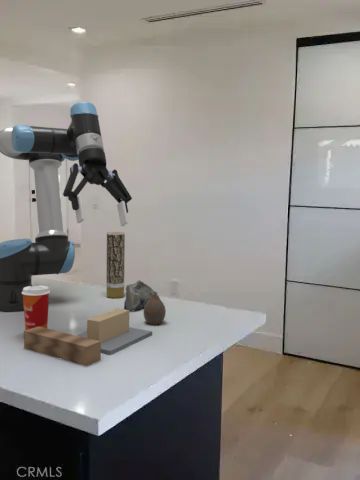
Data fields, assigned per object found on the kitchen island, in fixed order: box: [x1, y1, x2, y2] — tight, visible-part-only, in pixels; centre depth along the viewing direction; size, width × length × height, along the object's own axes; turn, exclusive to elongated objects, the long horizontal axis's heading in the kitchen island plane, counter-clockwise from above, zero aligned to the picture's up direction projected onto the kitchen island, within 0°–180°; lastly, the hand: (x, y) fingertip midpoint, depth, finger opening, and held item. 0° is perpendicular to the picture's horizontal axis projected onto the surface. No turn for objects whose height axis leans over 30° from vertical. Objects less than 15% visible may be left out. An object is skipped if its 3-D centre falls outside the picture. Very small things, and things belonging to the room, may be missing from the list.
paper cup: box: [22, 284, 51, 331], centre depth 137 cm, size 8×8×14 cm
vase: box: [143, 294, 167, 325], centre depth 153 cm, size 7×7×9 cm
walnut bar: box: [23, 326, 102, 367], centre depth 123 cm, size 22×5×5 cm, turn 58°
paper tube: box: [106, 231, 126, 299], centre depth 188 cm, size 7×7×25 cm
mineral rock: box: [123, 280, 158, 312], centre depth 172 cm, size 13×11×10 cm
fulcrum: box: [75, 308, 153, 356], centre depth 136 cm, size 16×20×7 cm
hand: (103, 222), depth 130 cm, fingers open, 13 cm apart
